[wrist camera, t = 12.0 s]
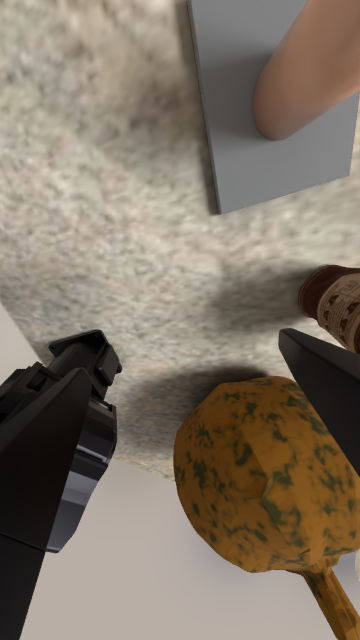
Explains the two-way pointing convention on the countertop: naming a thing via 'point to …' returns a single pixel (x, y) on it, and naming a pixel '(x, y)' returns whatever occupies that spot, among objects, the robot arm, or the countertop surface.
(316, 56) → the terracotta canister
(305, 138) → the mat
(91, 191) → the countertop surface
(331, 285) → the coffee cup
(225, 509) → the decorative pumpkin
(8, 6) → the countertop surface
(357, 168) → the countertop surface
